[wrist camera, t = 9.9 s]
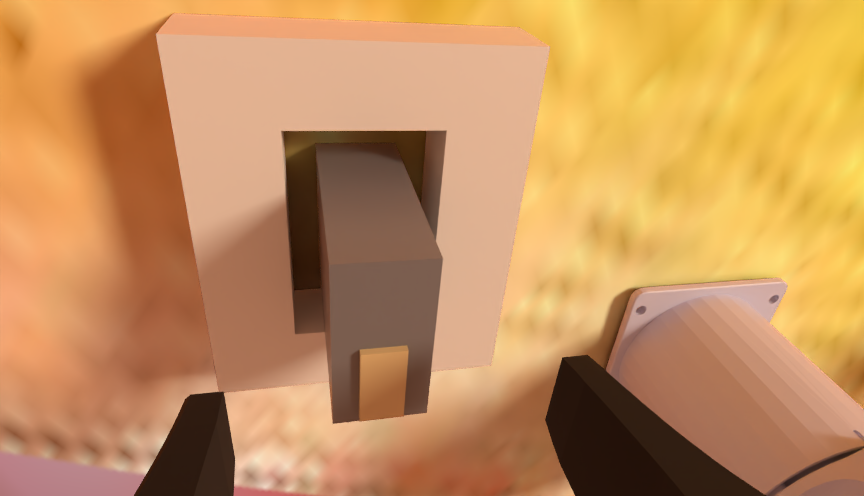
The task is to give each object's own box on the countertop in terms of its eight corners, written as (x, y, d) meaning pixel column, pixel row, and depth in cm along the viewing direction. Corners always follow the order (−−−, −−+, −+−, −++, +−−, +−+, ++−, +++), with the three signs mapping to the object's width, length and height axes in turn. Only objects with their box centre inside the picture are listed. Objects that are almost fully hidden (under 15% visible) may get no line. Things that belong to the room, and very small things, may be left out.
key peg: (394, 142, 19) (445, 263, 13) (388, 270, 21) (428, 418, 16) (315, 143, 18) (329, 270, 12) (319, 274, 21) (333, 429, 15)
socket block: (473, 324, 24) (491, 365, 22) (225, 344, 22) (219, 393, 20) (519, 27, 17) (550, 46, 15) (173, 13, 15) (155, 34, 13)
